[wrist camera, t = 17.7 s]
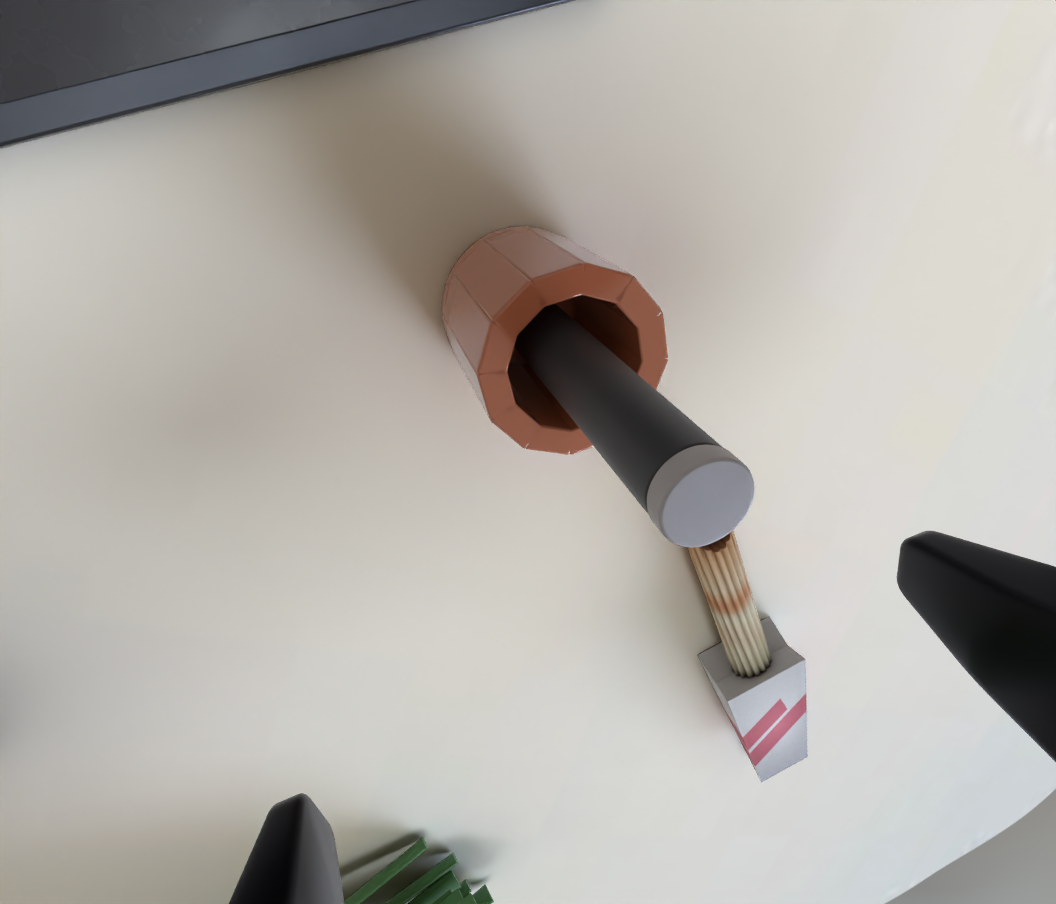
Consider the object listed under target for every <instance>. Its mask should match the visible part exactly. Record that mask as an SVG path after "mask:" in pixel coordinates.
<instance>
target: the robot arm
mask: <svg viewBox="0 0 1056 904" xmlns="http://www.w3.org/2000/svg"><path fill="white" fill-rule="evenodd" d="M897 582H898V586H899V588H900V590H901V592H902V593H903V595H904V596H905V597H906V599H907V600H908V601H909V602H910V603H911V605H912V606H913V607H914V608H915V610H916V611H917V612H918V613H919V614H920V616H921V617H922V618H923V619H924V620H925V622H926V623H927V624H928V625H929V626H930V628H931V629H932V630H933V631H934V632H935V634H936V635H937V636H938V637H939V639H940V640H941V641H942V642H943V643H944V645H945V646H946V647H947V648H948V649H949V651H950V652H951V653H952V654H953V655H954V657H955V658H956V659H957V660H958V661H959V663H960V664H961V665H962V666H963V667H964V669H965V670H966V671H967V672H968V673H969V674H970V675H971V676H972V678H973V679H974V680H975V681H976V682H977V683H978V684H979V685H980V686H981V687H982V688H983V689H984V690H985V691H986V692H987V694H988V695H989V696H990V697H991V698H992V699H993V700H994V701H995V702H996V703H997V704H998V705H999V706H1000V707H1001V708H1002V709H1003V710H1004V711H1005V712H1006V713H1007V714H1008V715H1009V716H1010V717H1011V718H1012V719H1013V720H1014V721H1015V722H1016V723H1017V724H1018V725H1019V726H1020V727H1021V728H1022V729H1023V730H1024V731H1025V732H1026V733H1027V734H1028V735H1029V736H1030V737H1031V738H1032V739H1033V740H1034V741H1035V742H1036V743H1037V744H1038V745H1039V746H1040V747H1041V748H1042V749H1043V750H1044V751H1045V752H1046V753H1047V754H1048V755H1049V756H1050V757H1051V758H1052V759H1053V760H1054V761H1055V762H1056V567H1054V566H1051V565H1047V564H1044V563H1041V562H1037V561H1034V560H1031V559H1027V558H1024V557H1020V556H1017V555H1014V554H1010V553H1007V552H1003V551H1000V550H997V549H993V548H990V547H987V546H983V545H980V544H976V543H973V542H970V541H966V540H963V539H960V538H956V537H953V536H949V535H946V534H943V533H939V532H935V531H925V532H921V533H919V534H917V535H914V536H912V537H910V538H907V539H905V540H904V541H903V543H902V544H901V548H900V556H899V564H898V572H897ZM229 904H345V903H344V897H343V890H342V883H341V877H340V870H339V864H338V857H337V851H336V844H335V839H334V835H333V832H332V829H331V826H330V824H329V823H328V821H327V820H326V819H325V817H324V816H323V815H322V813H321V812H320V811H319V809H318V808H317V807H316V805H315V804H314V803H313V801H312V800H311V799H310V798H309V797H308V796H307V795H306V794H303V793H301V794H298V795H295V796H293V797H291V798H288V799H286V800H283V801H281V802H279V803H277V804H275V805H274V806H273V807H272V808H271V810H270V811H269V813H268V815H267V817H266V820H265V822H264V824H263V827H262V829H261V831H260V833H259V836H258V838H257V840H256V843H255V845H254V847H253V850H252V852H251V854H250V856H249V859H248V861H247V863H246V866H245V868H244V870H243V873H242V875H241V877H240V879H239V882H238V884H237V886H236V889H235V891H234V893H233V896H232V898H231V900H230V902H229Z"/></svg>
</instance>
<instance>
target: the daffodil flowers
mask: <svg viewBox="0 0 1056 904" xmlns="http://www.w3.org/2000/svg"><path fill="white" fill-rule="evenodd" d="M425 850H427V845H426V842H425V840H424V838H421V839H420V840H419V841H418V842H416V843H415V844H414V845H413V846H412V847H410V848H409V849H408V850H407V851H405V852H404V853H403V854H402V855H400V856H399V857H398V858H397V859H395V860H394V861H393V862H392V863H391V864H389V865H388V866H387V867H386V868H384V869H383V870H382V871H381V872H379V873H378V874H377V875H376V876H374V877H373V878H372V879H371V880H370V881H368V882H367V883H366V884H365V885H363V886H362V887H361V888H360V889H358V890H357V891H356V892H355V893H353V894H352V895H351V896H350V897H349V898H347V899H346V900H345V901H344V903H345V904H361V903H362V902H363V901H364V900H366V899H367V898H368V897H369V896H371V895H372V894H373V893H374V892H375V891H377V890H378V889H379V888H380V887H382V886H383V885H384V884H385V883H386V882H388V881H389V880H390V879H391V878H392V877H394V876H395V875H396V874H397V873H399V872H400V871H401V870H402V869H403V868H405V867H406V866H407V865H408V864H410V863H411V862H412V861H413V860H414V859H416V858H417V857H418V856H419V855H421V854H422V853H423V852H424V851H425ZM457 864H458V861H457V859H456V857H455V855H454V854H453V853H452V854H451V855H449V856H448V857H447V858H445V859H444V860H443V861H441V862H440V863H439V864H437V865H436V866H435V867H433V868H432V869H431V870H429V871H428V872H427V873H425V874H424V875H423V876H421V877H420V878H419V879H417V880H416V881H415V882H413V883H412V884H411V885H409V886H408V887H407V888H405V889H404V890H402V891H401V892H400V893H398V894H397V895H396V896H394V897H393V898H392V899H390V900H389V901H388V902H386V903H385V904H405V903H406V902H408V901H409V900H410V899H412V898H413V897H414V896H416V895H417V894H418V893H420V892H421V891H422V890H424V889H425V888H426V887H428V886H429V885H430V884H432V883H433V882H434V881H436V880H437V879H438V878H440V877H441V876H442V875H444V874H445V873H446V872H448V871H449V870H450V869H451V868H453V867H454V866H455V865H457ZM470 892H471V889H470V887H469V884H468V882H467V880H464V881H463V882H462V883H461V884H460V883H459V881H458V880H457V878H456V876H455V875H454V873H453V872H452V870H450V871H449V872H448V873H447V874H445V875H444V876H443V877H441V878H440V879H439V880H437V881H436V882H435V883H434V884H432V885H431V886H430V887H428V888H427V889H426V890H424V891H423V892H422V893H421V894H419V895H418V896H417V897H415V898H414V899H413V900H411V901H410V902H409V903H408V904H491V903H493V902H494V901H493V899H492V897H491V895H490V893H489V891H488V889H487V887H486V885H484V886H482V887H481V888H480V889H479V890H478V891H477V892H476V893H474V894H473V895H472V894H471V893H470Z"/></svg>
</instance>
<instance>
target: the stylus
mask: <svg viewBox="0 0 1056 904" xmlns="http://www.w3.org/2000/svg"><path fill="white" fill-rule="evenodd" d="M514 347H515V348H516V350H517V351H518V352H519V353H520V355H521V356H522V357H523V358H524V360H525V361H526V362H527V363H528V365H529V366H530V367H531V368H532V370H533V371H534V372H535V373H536V375H537V376H538V377H539V378H540V380H541V381H542V382H543V383H544V385H545V386H546V387H547V388H548V390H549V391H550V392H551V393H552V395H553V396H554V397H555V398H556V399H557V401H558V402H559V403H560V404H561V406H562V407H563V408H564V409H565V411H566V412H567V413H568V414H569V416H570V417H571V418H572V419H573V421H574V422H575V423H576V424H577V426H578V427H579V428H580V429H581V431H582V432H583V433H584V434H585V436H586V437H587V438H588V439H589V441H590V442H591V443H592V444H593V446H594V447H595V448H596V449H597V451H598V452H599V453H600V454H601V456H602V457H603V458H604V459H605V461H606V462H607V463H608V464H609V466H610V467H611V468H612V469H613V471H614V472H615V473H616V474H617V476H618V477H619V478H620V479H621V481H622V482H623V483H624V484H625V486H626V487H627V488H628V489H629V491H630V492H631V493H632V494H633V496H634V497H635V498H636V499H637V501H638V502H639V503H640V504H641V506H642V507H643V508H644V509H645V511H646V512H647V513H648V514H649V516H650V518H651V520H652V521H653V523H654V524H655V525H656V526H657V528H658V529H659V530H660V531H661V533H662V534H663V535H664V536H665V537H666V538H667V539H668V540H669V541H671V542H672V543H674V544H677V545H679V546H683V547H700V546H705V545H708V544H711V543H713V542H715V541H718V540H719V539H721V538H723V537H724V536H726V535H727V534H729V533H730V532H731V531H732V530H733V529H734V528H735V527H736V526H737V525H738V524H739V523H740V522H741V521H742V519H743V518H744V517H745V515H746V513H747V512H748V510H749V508H750V505H751V503H752V500H753V495H754V481H753V478H752V475H751V473H750V471H749V469H748V468H747V466H746V465H744V464H743V463H742V462H741V461H740V460H739V459H738V458H736V457H735V456H734V455H733V454H732V453H731V452H729V451H728V450H726V449H725V448H723V447H722V446H720V445H719V444H718V443H717V442H716V441H715V440H713V439H712V438H711V437H710V436H709V435H708V434H707V433H705V432H704V431H703V430H702V429H701V428H700V427H698V426H697V425H696V424H695V423H694V422H693V421H691V420H690V419H689V418H688V417H687V416H686V415H684V414H683V413H682V412H681V411H680V410H679V409H677V408H676V407H675V406H674V405H673V404H672V403H670V402H669V401H668V400H667V399H666V398H665V397H664V396H662V395H661V394H660V393H659V392H658V391H657V390H655V389H654V388H653V387H652V386H651V385H650V384H648V383H647V382H646V381H645V380H644V379H643V378H641V377H640V376H639V375H638V374H637V373H636V372H634V371H633V370H632V369H631V368H630V367H629V366H627V365H626V364H625V363H624V362H623V361H622V360H621V359H619V358H618V357H617V356H616V355H615V354H614V353H612V352H611V351H610V350H609V349H608V348H607V347H605V346H604V345H603V344H602V343H601V342H600V341H598V340H597V339H596V338H595V337H594V336H593V335H591V334H590V333H589V332H588V331H587V330H586V329H584V328H583V327H582V326H581V325H580V324H579V323H578V322H576V321H575V320H574V319H573V318H572V317H571V316H569V315H568V314H567V313H566V312H565V311H564V310H562V309H561V308H560V307H559V306H558V305H557V304H552V305H549V306H546V307H544V308H543V309H542V310H541V311H540V312H539V313H538V314H537V315H536V316H535V317H534V318H533V319H532V320H531V321H530V322H529V324H528V325H527V326H526V327H525V328H524V329H523V330H522V331H521V332H520V333H519V334H518V335H517V339H516V342H515V345H514Z"/></svg>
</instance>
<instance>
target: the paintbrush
mask: <svg viewBox="0 0 1056 904" xmlns="http://www.w3.org/2000/svg"><path fill="white" fill-rule="evenodd" d="M687 548H688V551H689V553H690V556H691V559H692V561H693V564H694V567H695V569H696V572H697V575H698V577H699V580H700V583H701V585H702V588H703V591H704V593H705V596H706V598H707V601H708V604H709V606H710V609H711V612H712V615H713V618H714V620H715V623H716V626H717V629H718V632H719V634H720V637H721V640H722V642H721V643H719V644H717V645H715V646H714V647H712V648H710V649H708V650H706V651H704V652H703V653H701V654H699V655H698V657H699V659H700V661H701V663H702V665H703V667H704V669H705V671H706V673H707V675H708V677H709V679H710V681H711V683H712V685H713V687H714V689H715V691H716V693H717V695H718V697H719V699H720V701H721V703H722V705H723V707H724V709H725V711H726V713H727V715H728V717H729V719H730V721H731V723H732V725H733V727H734V729H735V731H736V733H737V735H738V737H739V739H740V741H741V743H742V745H743V747H744V749H745V751H746V753H747V755H748V757H749V759H750V761H751V763H752V765H753V767H754V769H755V771H756V773H757V775H758V777H759V779H760V781H761V782H763V781H765V780H767V779H768V778H770V777H772V776H774V775H776V774H777V773H779V772H781V771H783V770H785V769H786V768H788V767H790V766H792V765H793V764H795V763H797V762H799V761H801V760H802V759H804V758H806V757H807V712H806V667H805V659H804V658H803V657H802V656H801V655H799V654H798V653H797V652H796V651H794V650H793V649H792V648H790V647H789V646H788V645H787V644H786V642H785V640H784V639H783V637H782V636H781V634H780V633H779V631H778V629H777V628H776V626H775V625H774V623H773V622H772V620H771V618H770V617H767V618H765V619H763V620H761V621H760V619H759V616H758V613H757V609H756V606H755V603H754V600H753V596H752V593H751V590H750V587H749V584H748V580H747V577H746V573H745V570H744V566H743V563H742V559H741V556H740V552H739V549H738V545H737V542H736V538H735V535H734V531H733V530H732V531H731V532H730V533H729V534H727V535H726V536H724V537H723V538H721V539H719V540H718V541H715V542H713V543H711V544H708V545H705V546H700V547H687Z"/></svg>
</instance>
